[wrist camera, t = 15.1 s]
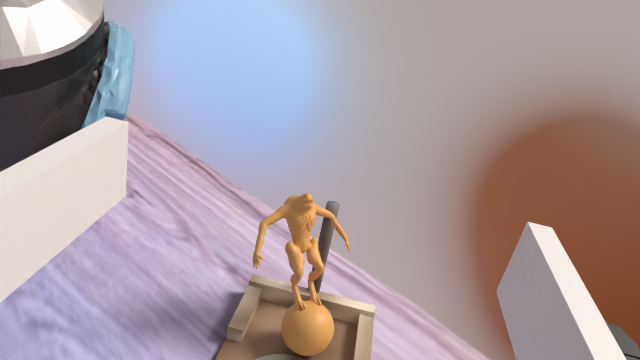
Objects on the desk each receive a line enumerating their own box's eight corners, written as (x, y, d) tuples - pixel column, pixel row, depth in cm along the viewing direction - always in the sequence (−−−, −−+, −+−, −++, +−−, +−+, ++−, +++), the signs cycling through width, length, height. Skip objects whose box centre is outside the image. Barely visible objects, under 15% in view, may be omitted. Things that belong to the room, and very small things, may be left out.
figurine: (268, 382, 33) (281, 217, 30) (233, 335, 38) (241, 188, 35) (364, 351, 38) (385, 204, 35) (322, 312, 43) (337, 180, 39)
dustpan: (188, 417, 31) (203, 283, 27) (250, 289, 44) (267, 185, 40) (358, 464, 30) (400, 334, 26) (371, 320, 43) (401, 217, 39)
